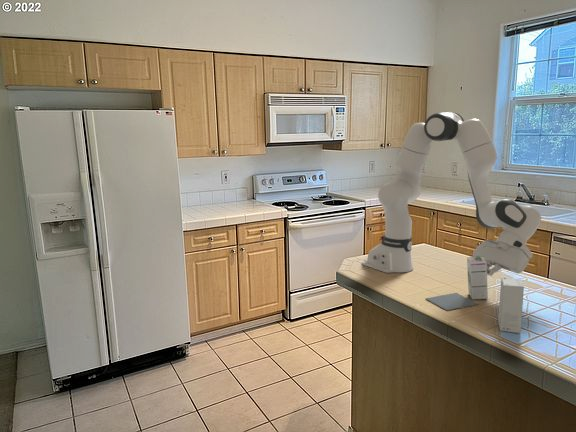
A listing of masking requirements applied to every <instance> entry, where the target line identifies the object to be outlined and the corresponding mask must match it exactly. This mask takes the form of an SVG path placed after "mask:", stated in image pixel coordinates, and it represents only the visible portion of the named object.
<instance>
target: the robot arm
mask: <svg viewBox="0 0 576 432" xmlns="http://www.w3.org/2000/svg"><path fill="white" fill-rule="evenodd" d="M451 140H453V141H456V143H457V144H458V146H459V147H460V150H461V153H462V155H463V158H464V162H465V165H466V168H467V170H466V171H467V177H468V182H469V186H470V188H471V189H470V190H471V192H472V196H473V199H474V203H475V217H476V221H477V223H478V224H479V225H480V226H481V227H483V228H485V229H489V230H492V229H496V228H499V227H501V228H502V229H503V230H502V232H501V233H500V234H499V236H498V237H497V238H496V240H493V239H486V240H483V241H482V242H481V243H480V244H479V245H478V246H477V247H476V248H475V249H474V250H473V252H472V255H473V256H483V257H484V259H485V261H486V264H487V276H491V277H492V276H493V275H494V274H495V273H497V272H499V271H501V269H503V270H507V271H509V272H512V273H515V274H518V275H519V274H520V273H523V272H524V270H525V268H527V266H528V264H529V263H530V259H531V258H532V257H533V256H534V255H533V253H532V251H531V250H530V248H529V247H528V246H527V245H526V244H527V242H528V240H529V239H530V238H532V236H533V235H534V233H535V232H536V231H537V229H538V228H539V226H540V223H541V222H542V215H541V213H540V211H538V209H536V208H535V207H533V206H531V205H523V204H519V203H517V202H516V201H515V200H513V199H508V198H507V199H506V198H505V199H500V200H496V201H495V200H494V199H493V197H492V194H491V190H490V186H489V183H488V182H489V181H488V176H489V173H490V171H491V170H492V168H493V167H494V166H495V164H496V162H497V158H498V156H497V151H496V150H497V149H496V146H495V144H494V142H493V140H492V137H491V134H490V133H489V131H488V129H487V127H486V126H485V125H484V123H483V122H482V121H481V120H480V119H478V118H470V119H469V118H468V119H466V120H465V119H464V118H463V117H462V116H461V115H460V114H459V113H456V112H451V111H442V112H435V113H433V114H431V115H429V116H428V117H427V119H426V120H425V122H422V121H421V122H415V123H413V124H412V125H411V127H410V128H409V130H408V132H407V133H406V136H405V137H404V140H403V142H402V145H401V149H400V150H399V153H398V154H399V155H398V158H397V160H396V163H395V164H396V168H397V169H396V178H395V180H392V181H388V182H387V183H385V184H383V186H381V187H380V188H379V190H378V192H377V197H378V201H379V203H380V204H381V205H382V208H383V211H384V217H385V222H384V225H385V227H384V232H385V233H384V235H382V236H380V237H379V241H381V242H380V243H379V244H377V245H376V246H374V247H373V248H371V249H370V250H369V251H368V254H367V258H365V259H364V260H362V263H361V265H362V266H366V267H369V268H371V269H375V270H377V271H380V272H383V273H387V274H389V273H390V274H391V273H408V272H409V273H410V272H411V271H413V270H414V266H413V261H412V260H413V259H412V245H413V237H412V227H413V226H412V224H413V221H412V218H411V216H410V213H409V207H408V206H409V205H408V204H411V203H413V202H414V201H416V200H417V199H418V198H419V197H420V195H421V194H422V193H421V191H422V190H421V189H422V188H421V180H422V175H423V170H424V168H425V164H426V161H427V159H428V155H429V154H430V150H431V148H432V146H433V144H434V142H448V141H451ZM491 267H492V268H491Z"/></svg>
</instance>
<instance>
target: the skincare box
mask: <svg viewBox="0 0 576 432" xmlns="http://www.w3.org/2000/svg"><path fill="white" fill-rule="evenodd" d="M499 291H500V292H499V305H498V306H499V307H498V319H497V321H498V326H499V330H500V331H502V332H509V333H513V334H514V333H515V334H521V333H522V319H523V304H524V291H525V286H524V283H523V281H522V279H521V278H520V279H519V278H509V277H501V278H500V290H499Z"/></svg>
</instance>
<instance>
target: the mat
mask: <svg viewBox="0 0 576 432" xmlns="http://www.w3.org/2000/svg"><path fill="white" fill-rule="evenodd" d="M425 300H426V301H428V302H430V303H431V302H432V304H433V305H436V306H437V307H438V308H440V309H443V310H444V311H446V312H449V311H454V310H459V309H464V308H469V307H474V306H479V305H480V304H479V302H477V301H475V300H473V299H471V298H468V297H466V296H463V295H462V294H460V293H458V292H454V293H447V294H443V295H436V296H430V297H426V298H425Z"/></svg>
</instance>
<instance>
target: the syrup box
mask: <svg viewBox="0 0 576 432" xmlns="http://www.w3.org/2000/svg"><path fill="white" fill-rule="evenodd" d="M466 263H467V264H466V265H467V266H466V267H467V268H466V269H467V288H468V294H469V296H470V300H487V299H488V298H489V295H488V291H489V290H488V287H489V286H488V275H487V264H486V261H485V259H484V257H483V256H467V257H466Z"/></svg>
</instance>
